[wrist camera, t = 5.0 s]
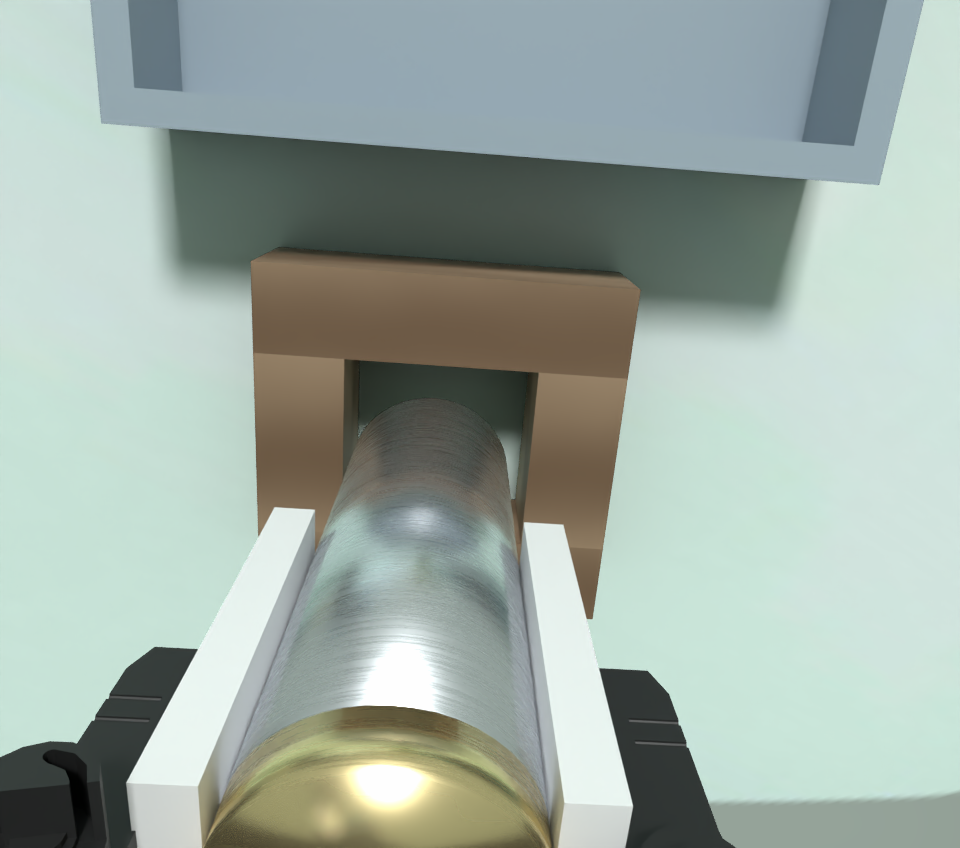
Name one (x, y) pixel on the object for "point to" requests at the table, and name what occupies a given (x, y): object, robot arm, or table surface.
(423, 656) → the pin
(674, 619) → the table surface
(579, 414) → the socket block
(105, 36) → the tray
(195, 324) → the table surface
